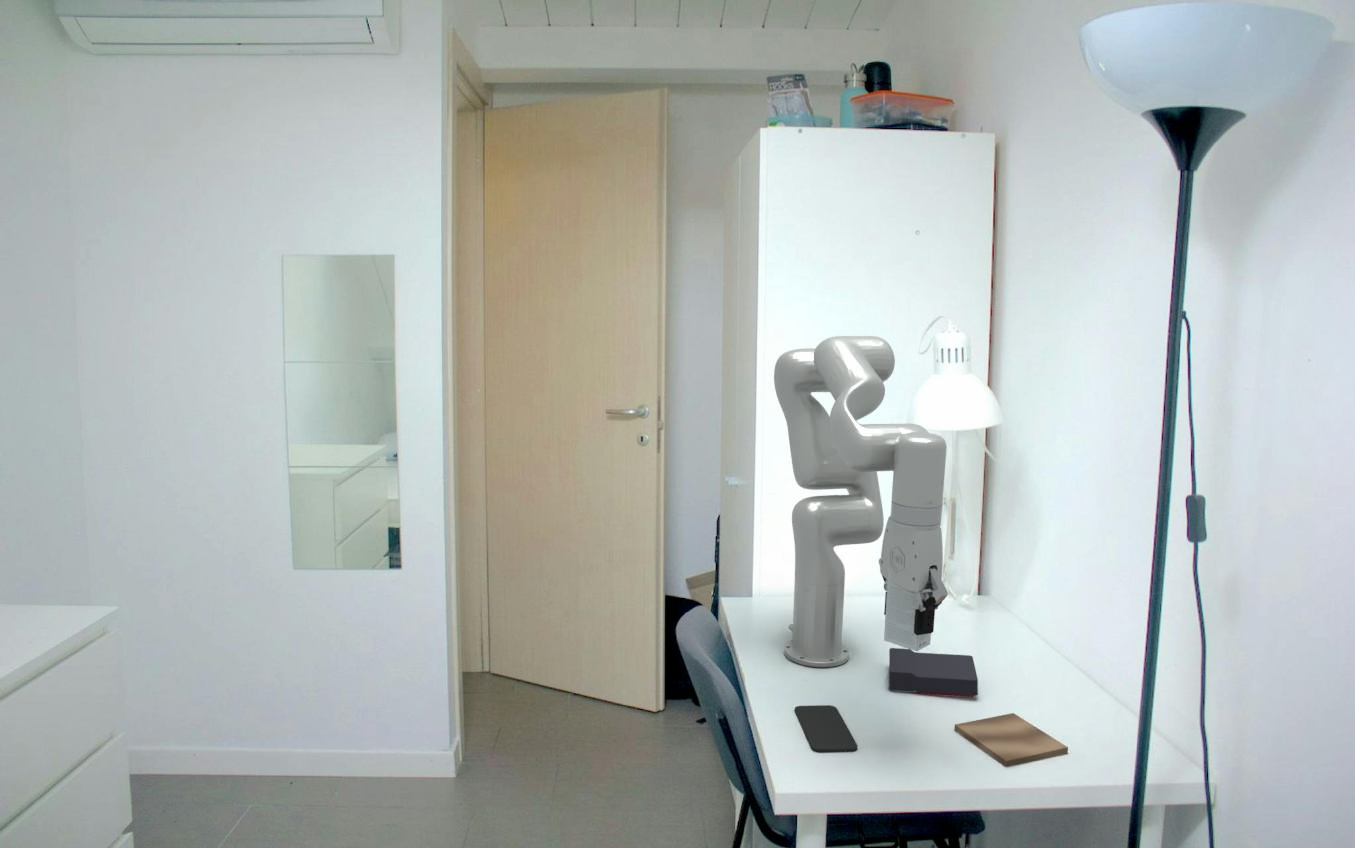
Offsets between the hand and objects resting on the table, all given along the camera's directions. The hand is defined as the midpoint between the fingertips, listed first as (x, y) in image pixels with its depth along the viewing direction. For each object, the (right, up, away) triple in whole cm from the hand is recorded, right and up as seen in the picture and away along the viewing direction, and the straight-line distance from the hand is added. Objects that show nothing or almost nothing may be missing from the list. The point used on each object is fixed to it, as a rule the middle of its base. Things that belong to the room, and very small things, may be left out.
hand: (908, 623), depth 141 cm
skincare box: (0, -3, +1) cm, 3 cm away
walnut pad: (+17, -19, +3) cm, 26 cm away
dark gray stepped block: (+10, -12, +23) cm, 28 cm away
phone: (-12, -19, +6) cm, 23 cm away
